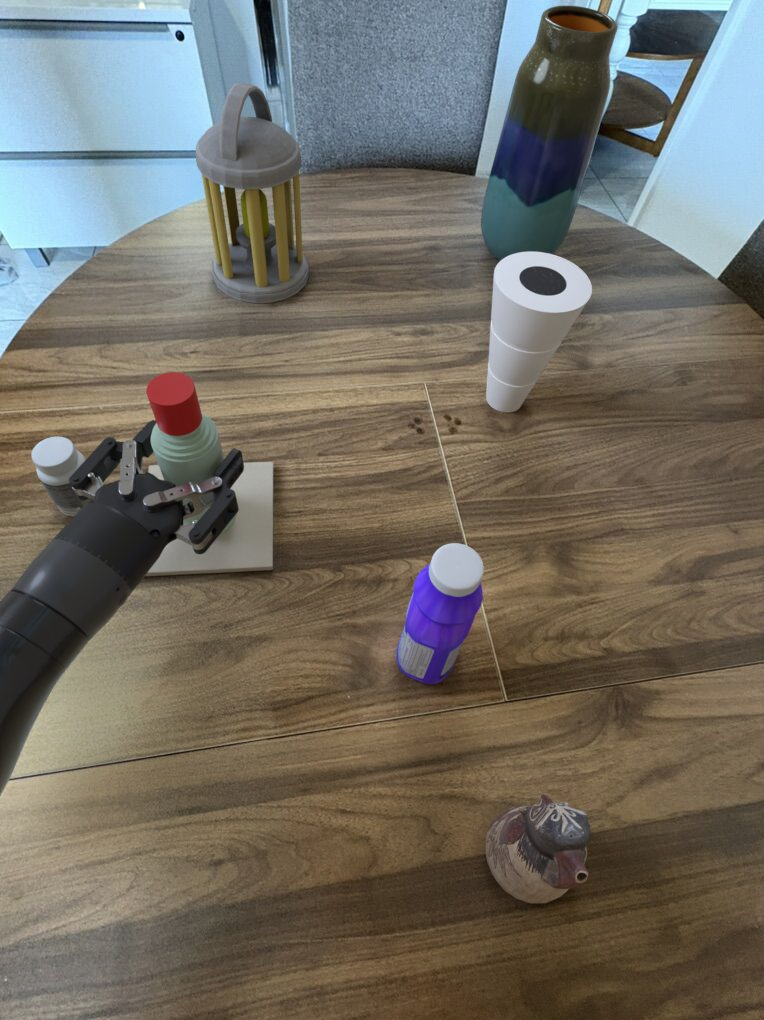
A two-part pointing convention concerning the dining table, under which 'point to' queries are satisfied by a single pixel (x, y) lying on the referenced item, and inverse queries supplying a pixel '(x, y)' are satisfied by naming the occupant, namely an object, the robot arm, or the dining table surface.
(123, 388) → the dining table surface
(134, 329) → the dining table surface
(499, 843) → the figurine
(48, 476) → the pill bottle
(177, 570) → the coaster
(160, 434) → the water bottle
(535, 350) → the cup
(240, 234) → the lantern
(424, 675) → the bottle
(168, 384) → the cap
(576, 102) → the vase
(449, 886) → the dining table surface
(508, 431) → the dining table surface
